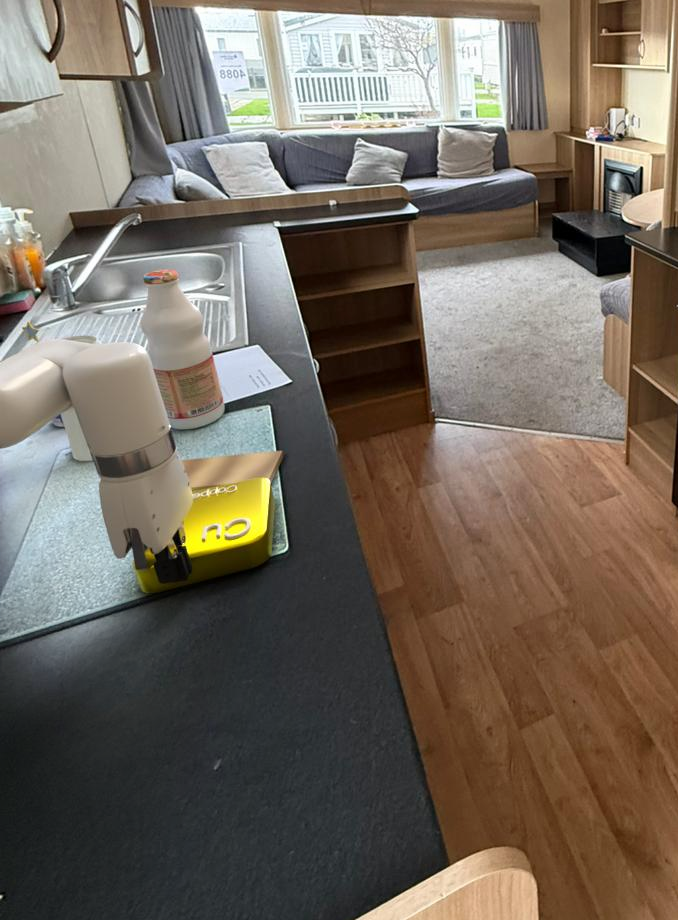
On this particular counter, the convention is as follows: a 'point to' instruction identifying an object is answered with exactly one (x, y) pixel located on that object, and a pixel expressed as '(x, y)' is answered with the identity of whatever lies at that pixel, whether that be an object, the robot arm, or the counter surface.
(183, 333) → the fruit juice
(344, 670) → the counter surface
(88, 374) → the robot arm
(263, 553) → the element tile
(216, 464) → the wooden board
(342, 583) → the counter surface
